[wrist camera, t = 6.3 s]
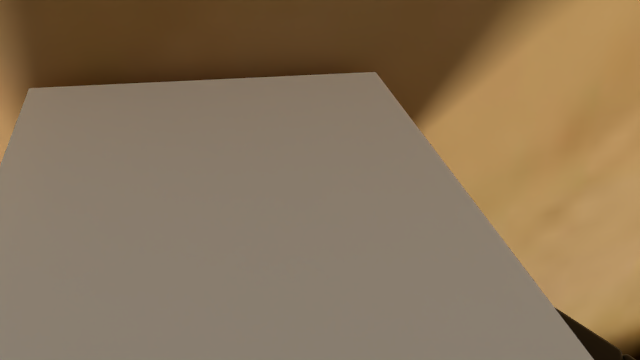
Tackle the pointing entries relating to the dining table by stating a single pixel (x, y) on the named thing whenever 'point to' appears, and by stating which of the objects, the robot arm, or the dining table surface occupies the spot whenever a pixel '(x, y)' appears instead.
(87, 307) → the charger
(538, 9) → the dining table surface
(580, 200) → the dining table surface
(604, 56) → the dining table surface
